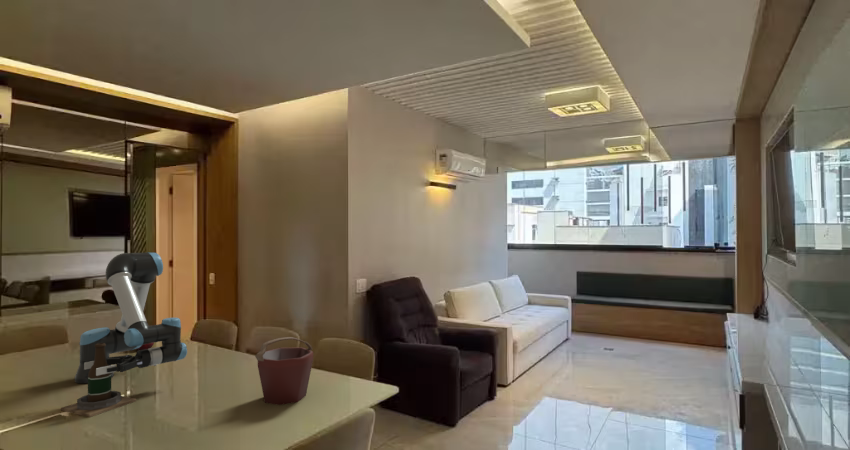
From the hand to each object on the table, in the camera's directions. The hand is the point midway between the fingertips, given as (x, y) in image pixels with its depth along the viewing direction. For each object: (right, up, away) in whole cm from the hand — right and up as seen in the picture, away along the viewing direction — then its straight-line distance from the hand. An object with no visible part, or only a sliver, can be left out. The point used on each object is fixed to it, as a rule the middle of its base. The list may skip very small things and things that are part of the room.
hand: (90, 369), depth 183 cm
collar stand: (+2, -16, +2) cm, 16 cm away
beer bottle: (+2, -15, +2) cm, 15 cm away
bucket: (+74, -16, +11) cm, 77 cm away
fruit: (-36, -18, +94) cm, 103 cm away
